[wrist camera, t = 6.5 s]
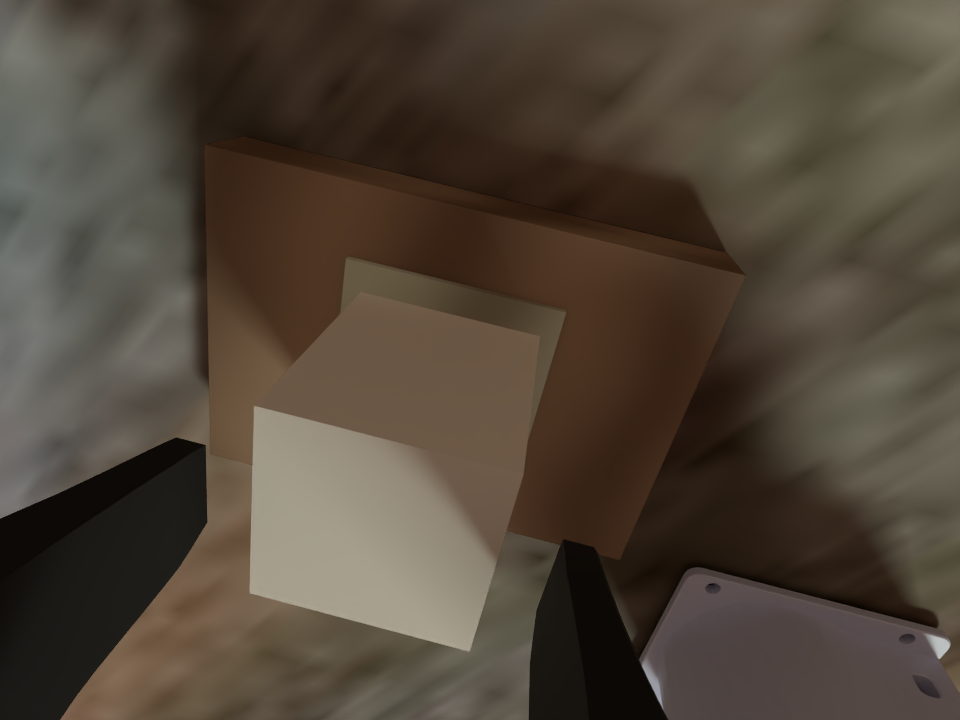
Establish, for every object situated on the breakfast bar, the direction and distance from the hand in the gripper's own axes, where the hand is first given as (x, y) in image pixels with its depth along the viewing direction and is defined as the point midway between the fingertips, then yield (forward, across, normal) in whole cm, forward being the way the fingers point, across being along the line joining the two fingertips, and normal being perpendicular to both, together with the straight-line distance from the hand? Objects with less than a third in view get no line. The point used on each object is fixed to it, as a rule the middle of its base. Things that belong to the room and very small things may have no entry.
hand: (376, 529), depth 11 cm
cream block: (+6, 0, 0) cm, 6 cm away
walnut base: (+8, 0, 0) cm, 8 cm away
